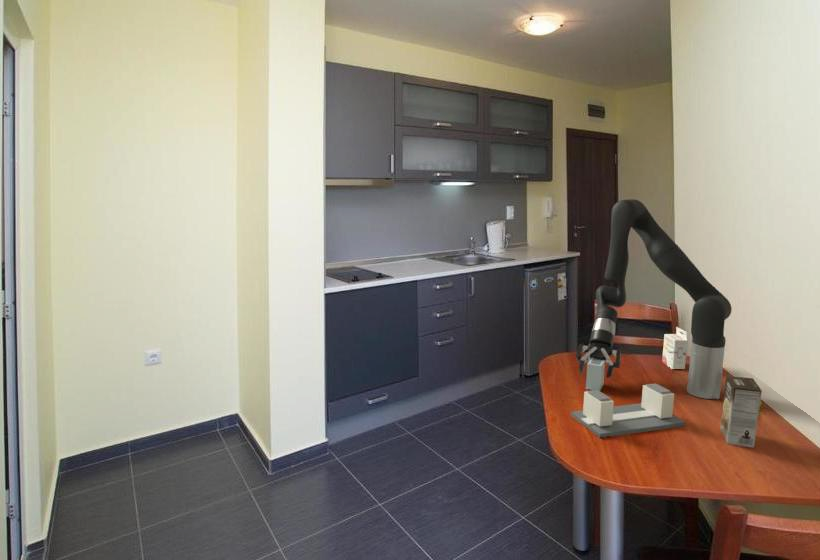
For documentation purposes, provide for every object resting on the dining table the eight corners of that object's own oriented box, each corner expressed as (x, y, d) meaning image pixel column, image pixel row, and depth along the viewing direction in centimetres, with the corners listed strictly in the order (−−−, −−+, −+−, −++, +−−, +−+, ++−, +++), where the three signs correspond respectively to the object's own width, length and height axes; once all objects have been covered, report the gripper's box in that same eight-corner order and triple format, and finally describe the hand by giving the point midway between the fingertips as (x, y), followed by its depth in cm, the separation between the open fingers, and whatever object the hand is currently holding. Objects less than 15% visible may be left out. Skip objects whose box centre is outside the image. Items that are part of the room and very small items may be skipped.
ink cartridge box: (660, 362, 191) (664, 326, 188) (673, 362, 191) (677, 326, 188) (672, 370, 182) (675, 332, 180) (685, 370, 182) (689, 332, 180)
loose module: (603, 384, 168) (605, 360, 167) (599, 391, 162) (601, 366, 161) (589, 382, 171) (591, 357, 169) (585, 389, 165) (587, 363, 163)
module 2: (652, 405, 148) (654, 382, 146) (672, 417, 140) (674, 392, 139) (641, 406, 147) (643, 383, 146) (660, 418, 139) (662, 393, 138)
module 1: (594, 412, 143) (596, 388, 142) (612, 424, 135) (614, 399, 134) (582, 414, 142) (584, 389, 141) (599, 426, 134) (601, 400, 133)
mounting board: (650, 405, 151) (650, 400, 151) (685, 426, 138) (686, 420, 138) (570, 415, 145) (571, 410, 144) (599, 437, 131) (600, 432, 131)
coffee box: (719, 428, 136) (725, 374, 134) (746, 432, 134) (752, 377, 131) (726, 444, 128) (733, 386, 125) (755, 448, 126) (763, 390, 123)
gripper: (581, 325, 173) (571, 365, 166) (624, 331, 166) (616, 373, 158) (583, 336, 179) (574, 375, 171) (625, 342, 171) (617, 383, 164)
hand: (594, 374), depth 165 cm, fingers open, 8 cm apart
